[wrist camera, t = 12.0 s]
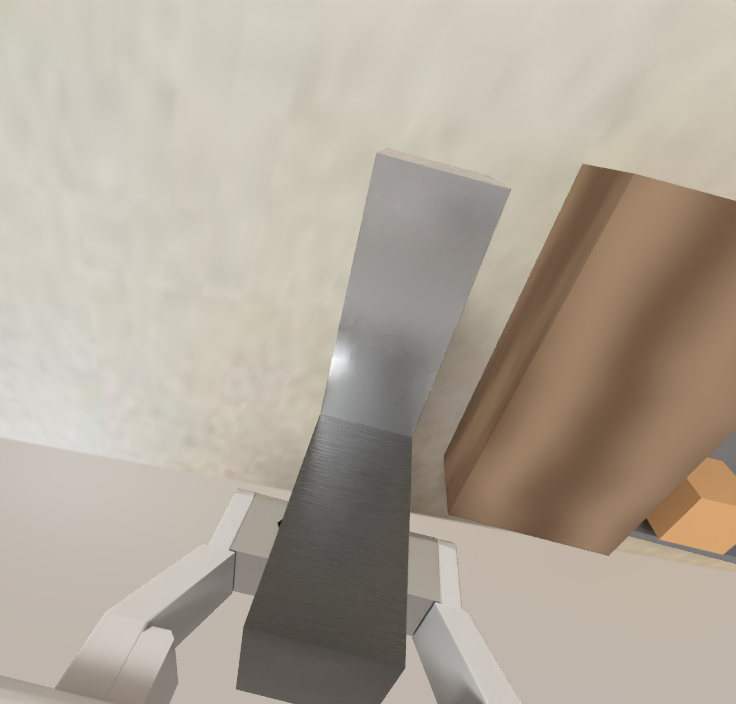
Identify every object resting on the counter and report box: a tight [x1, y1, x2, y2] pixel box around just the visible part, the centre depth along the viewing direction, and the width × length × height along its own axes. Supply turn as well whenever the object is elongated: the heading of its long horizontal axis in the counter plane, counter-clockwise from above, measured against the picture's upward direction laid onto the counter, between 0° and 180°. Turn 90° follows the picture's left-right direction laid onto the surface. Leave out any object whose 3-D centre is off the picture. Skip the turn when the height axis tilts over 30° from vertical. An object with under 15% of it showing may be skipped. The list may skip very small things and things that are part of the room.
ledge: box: [444, 164, 736, 556], centre depth 21 cm, size 10×20×5 cm, turn 167°
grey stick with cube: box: [236, 149, 511, 704], centre depth 11 cm, size 3×18×9 cm, turn 167°
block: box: [647, 458, 736, 555], centre depth 24 cm, size 4×4×4 cm
